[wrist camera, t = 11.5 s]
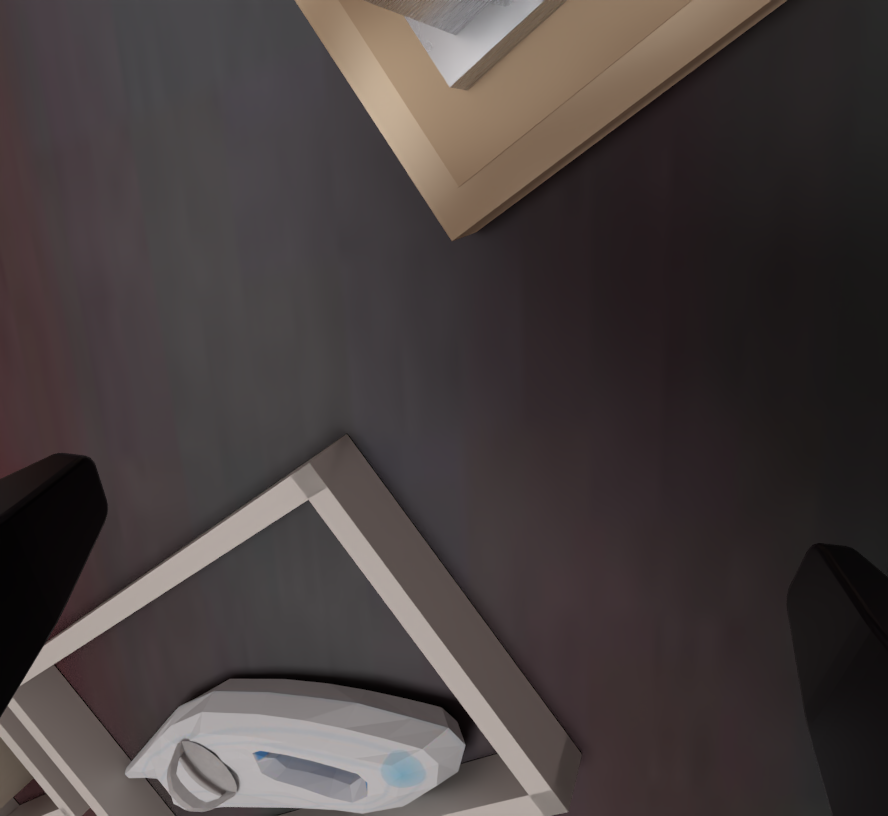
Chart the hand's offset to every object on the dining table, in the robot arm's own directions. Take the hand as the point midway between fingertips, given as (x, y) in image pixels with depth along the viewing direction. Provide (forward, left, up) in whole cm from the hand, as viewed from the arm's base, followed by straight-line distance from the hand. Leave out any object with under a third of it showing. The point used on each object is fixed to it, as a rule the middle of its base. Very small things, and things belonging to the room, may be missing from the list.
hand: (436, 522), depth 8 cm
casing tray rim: (-6, +24, -13) cm, 27 cm away
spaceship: (-9, +24, -13) cm, 29 cm away
